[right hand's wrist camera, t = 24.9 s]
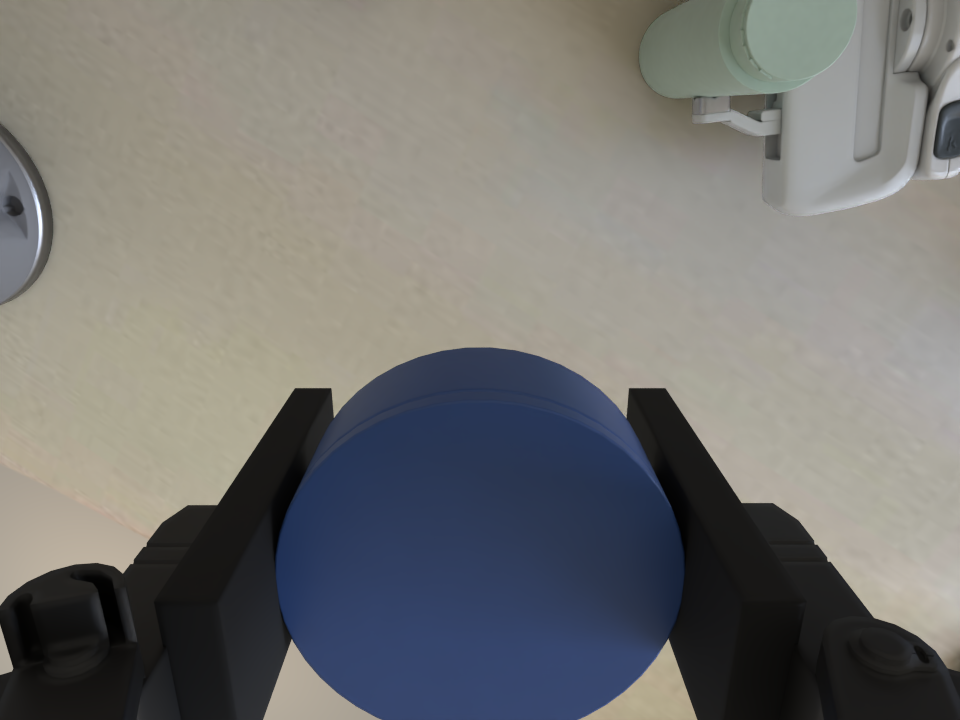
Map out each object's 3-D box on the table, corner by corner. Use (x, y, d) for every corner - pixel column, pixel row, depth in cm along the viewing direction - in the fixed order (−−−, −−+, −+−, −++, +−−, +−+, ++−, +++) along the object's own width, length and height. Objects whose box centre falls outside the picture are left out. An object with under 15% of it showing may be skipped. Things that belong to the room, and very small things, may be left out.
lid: (467, 691, 14) (465, 796, 12) (238, 493, 12) (187, 575, 10) (718, 518, 13) (767, 602, 10) (496, 269, 11) (499, 309, 9)
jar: (669, -10, 43) (789, -85, 27) (739, 36, 44) (897, -9, 28) (622, 71, 45) (708, 49, 28) (690, 114, 46) (812, 117, 29)
